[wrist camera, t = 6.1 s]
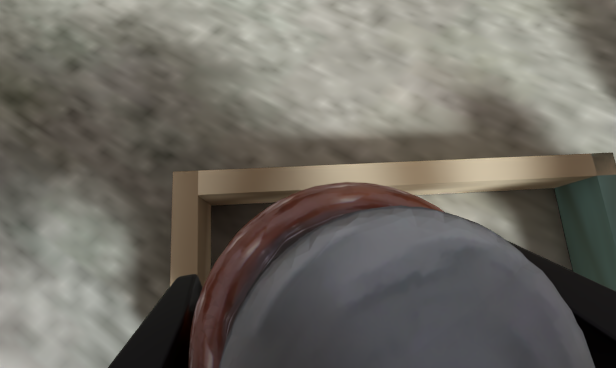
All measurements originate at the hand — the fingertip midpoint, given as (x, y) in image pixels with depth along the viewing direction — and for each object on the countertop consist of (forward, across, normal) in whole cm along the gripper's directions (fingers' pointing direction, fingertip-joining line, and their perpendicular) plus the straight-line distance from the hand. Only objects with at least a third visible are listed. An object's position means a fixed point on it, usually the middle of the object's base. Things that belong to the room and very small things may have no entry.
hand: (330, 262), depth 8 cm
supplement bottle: (+4, 0, +6) cm, 7 cm away
